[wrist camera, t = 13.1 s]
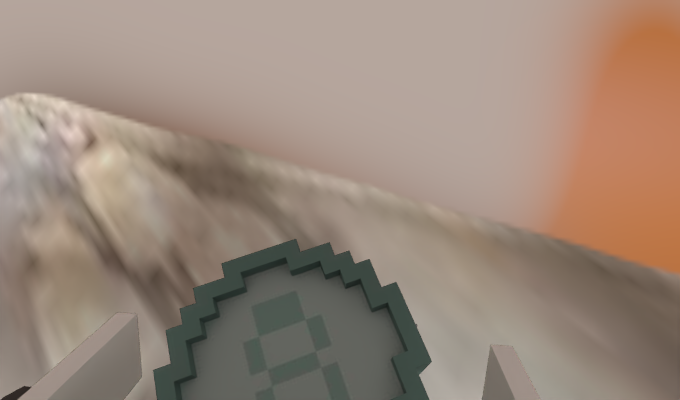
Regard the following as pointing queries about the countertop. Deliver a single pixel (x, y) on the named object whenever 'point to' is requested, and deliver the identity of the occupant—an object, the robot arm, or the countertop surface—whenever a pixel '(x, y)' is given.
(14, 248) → the countertop surface
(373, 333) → the can
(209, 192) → the countertop surface
